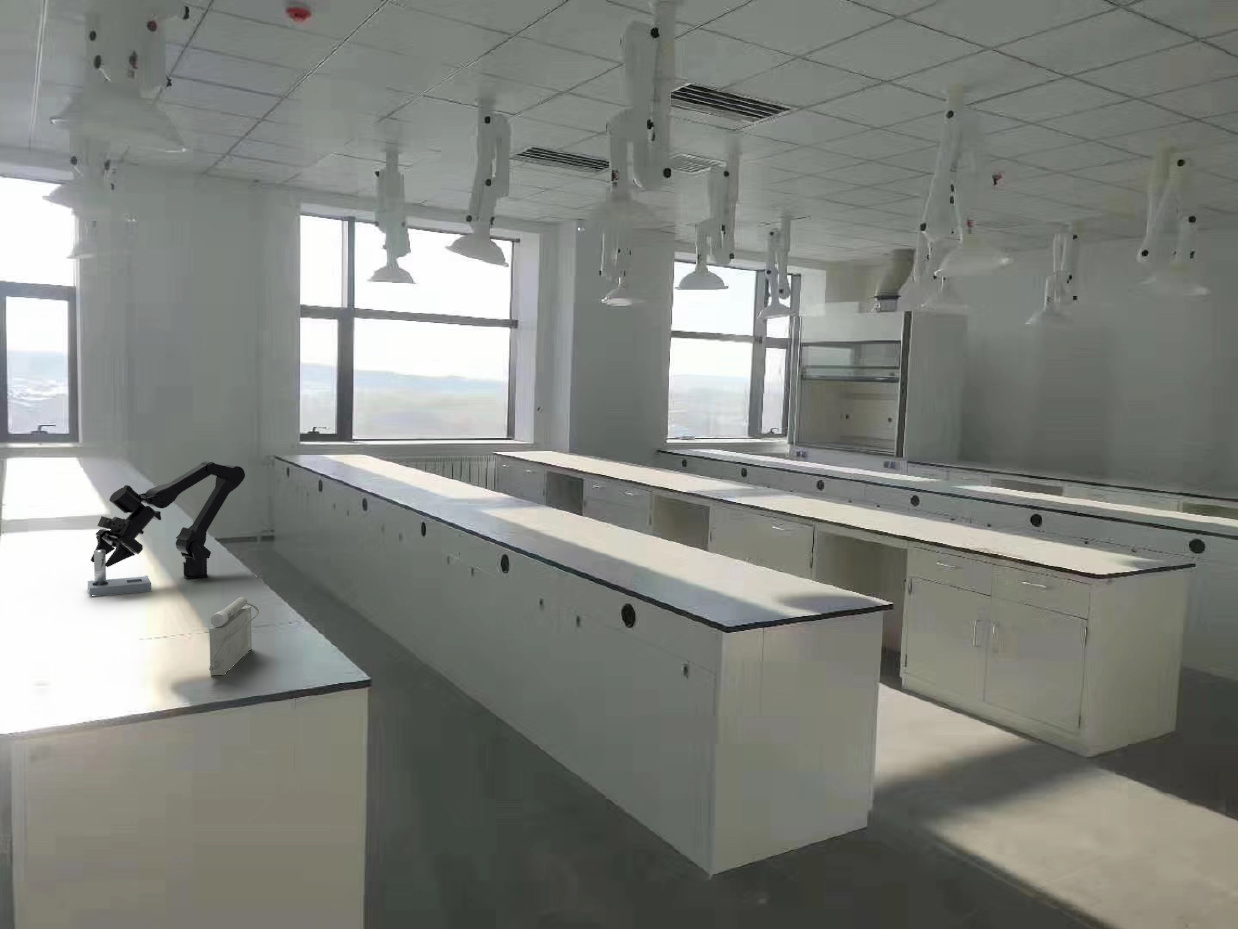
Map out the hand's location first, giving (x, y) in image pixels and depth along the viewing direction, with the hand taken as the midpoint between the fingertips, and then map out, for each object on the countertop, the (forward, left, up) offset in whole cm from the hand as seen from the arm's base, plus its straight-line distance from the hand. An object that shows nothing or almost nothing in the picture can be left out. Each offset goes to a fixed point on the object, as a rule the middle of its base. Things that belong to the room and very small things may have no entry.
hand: (98, 563), depth 269 cm
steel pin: (0, 0, -9) cm, 9 cm away
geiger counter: (-21, +87, -9) cm, 90 cm away
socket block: (-5, 0, -9) cm, 10 cm away
